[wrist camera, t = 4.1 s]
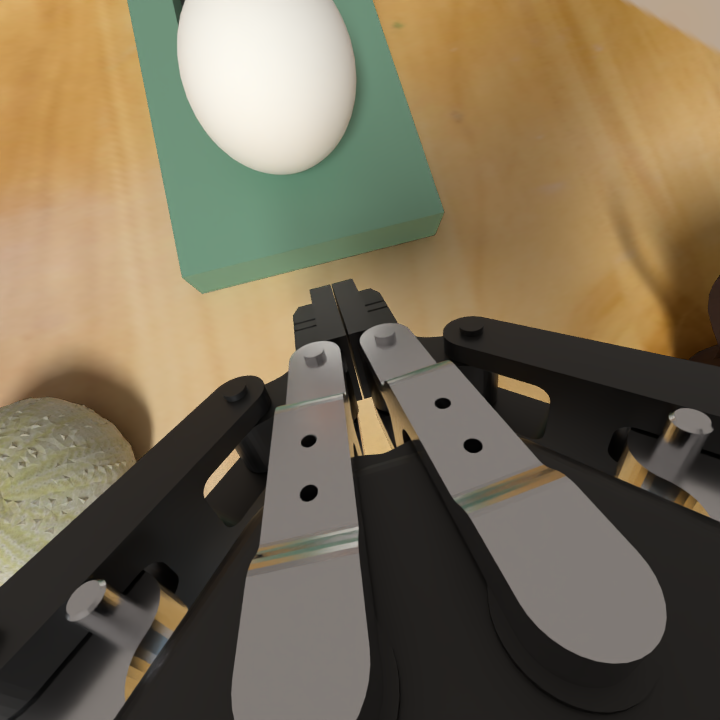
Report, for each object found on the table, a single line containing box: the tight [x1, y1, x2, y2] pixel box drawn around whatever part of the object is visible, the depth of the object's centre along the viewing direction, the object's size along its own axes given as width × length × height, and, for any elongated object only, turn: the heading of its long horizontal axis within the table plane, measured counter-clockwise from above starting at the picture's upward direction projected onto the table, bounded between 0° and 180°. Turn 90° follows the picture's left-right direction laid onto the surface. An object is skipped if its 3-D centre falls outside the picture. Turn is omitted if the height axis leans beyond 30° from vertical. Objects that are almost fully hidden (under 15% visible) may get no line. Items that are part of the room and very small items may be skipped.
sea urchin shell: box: [0, 397, 136, 587], centre depth 18 cm, size 9×8×8 cm
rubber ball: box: [177, 0, 356, 175], centre depth 17 cm, size 8×8×8 cm
